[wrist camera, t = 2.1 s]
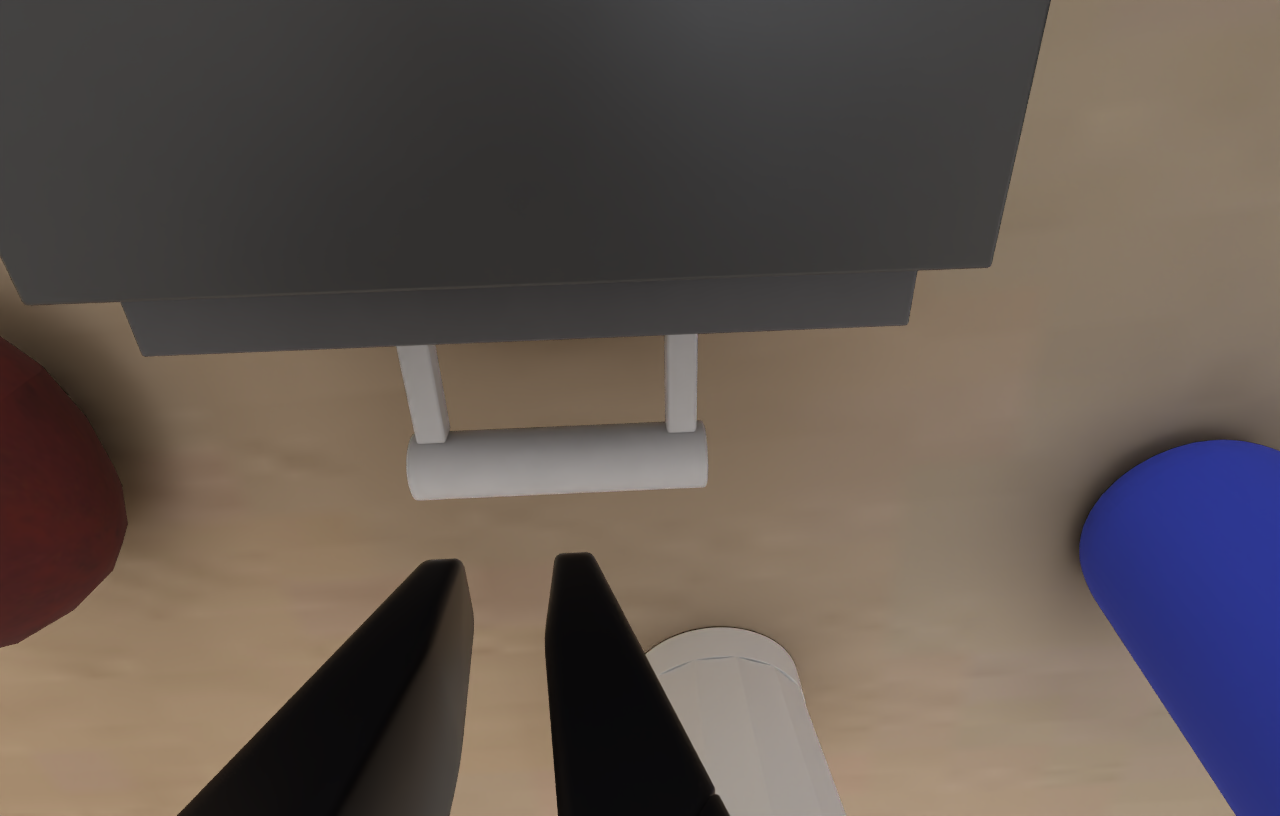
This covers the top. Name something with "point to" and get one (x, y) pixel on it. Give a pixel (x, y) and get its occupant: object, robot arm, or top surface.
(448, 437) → the drawer
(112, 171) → the dark grey lidded case
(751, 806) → the cup
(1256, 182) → the top surface
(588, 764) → the robot arm
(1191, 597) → the mug
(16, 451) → the potato
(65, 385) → the top surface
